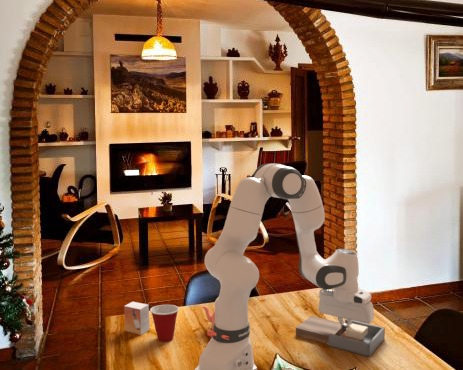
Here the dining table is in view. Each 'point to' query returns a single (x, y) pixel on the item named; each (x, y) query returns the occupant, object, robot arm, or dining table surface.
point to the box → (359, 347)
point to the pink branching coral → (210, 316)
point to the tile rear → (357, 331)
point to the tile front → (350, 337)
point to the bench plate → (318, 329)
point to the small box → (136, 318)
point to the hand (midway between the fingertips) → (345, 328)
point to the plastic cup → (164, 321)
